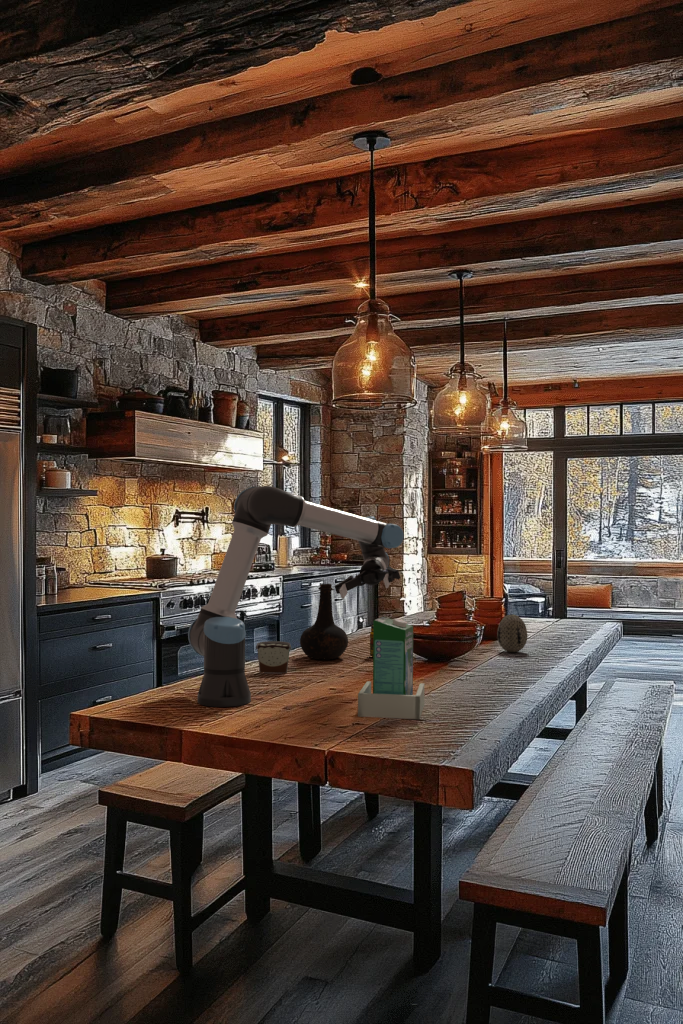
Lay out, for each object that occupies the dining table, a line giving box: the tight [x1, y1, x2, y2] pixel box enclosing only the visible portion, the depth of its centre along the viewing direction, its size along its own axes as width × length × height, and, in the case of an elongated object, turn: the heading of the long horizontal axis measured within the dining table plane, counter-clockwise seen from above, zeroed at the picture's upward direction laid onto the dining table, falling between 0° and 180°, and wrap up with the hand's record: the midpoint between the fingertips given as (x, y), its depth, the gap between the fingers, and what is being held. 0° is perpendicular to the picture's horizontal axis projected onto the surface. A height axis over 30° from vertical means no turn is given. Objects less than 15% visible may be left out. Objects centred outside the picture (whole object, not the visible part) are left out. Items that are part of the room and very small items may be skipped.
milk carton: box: [372, 616, 414, 695], centre depth 229 cm, size 9×9×25 cm
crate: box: [357, 680, 425, 720], centre depth 227 cm, size 17×16×6 cm
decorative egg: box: [496, 613, 528, 653], centre depth 327 cm, size 12×12×15 cm
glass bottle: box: [299, 583, 349, 661], centre depth 311 cm, size 18×18×28 cm
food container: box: [255, 640, 292, 674], centre depth 283 cm, size 12×6×10 cm, turn 84°
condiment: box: [369, 624, 373, 657], centre depth 315 cm, size 7×8×12 cm
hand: (363, 589), depth 243 cm, fingers open, 13 cm apart
